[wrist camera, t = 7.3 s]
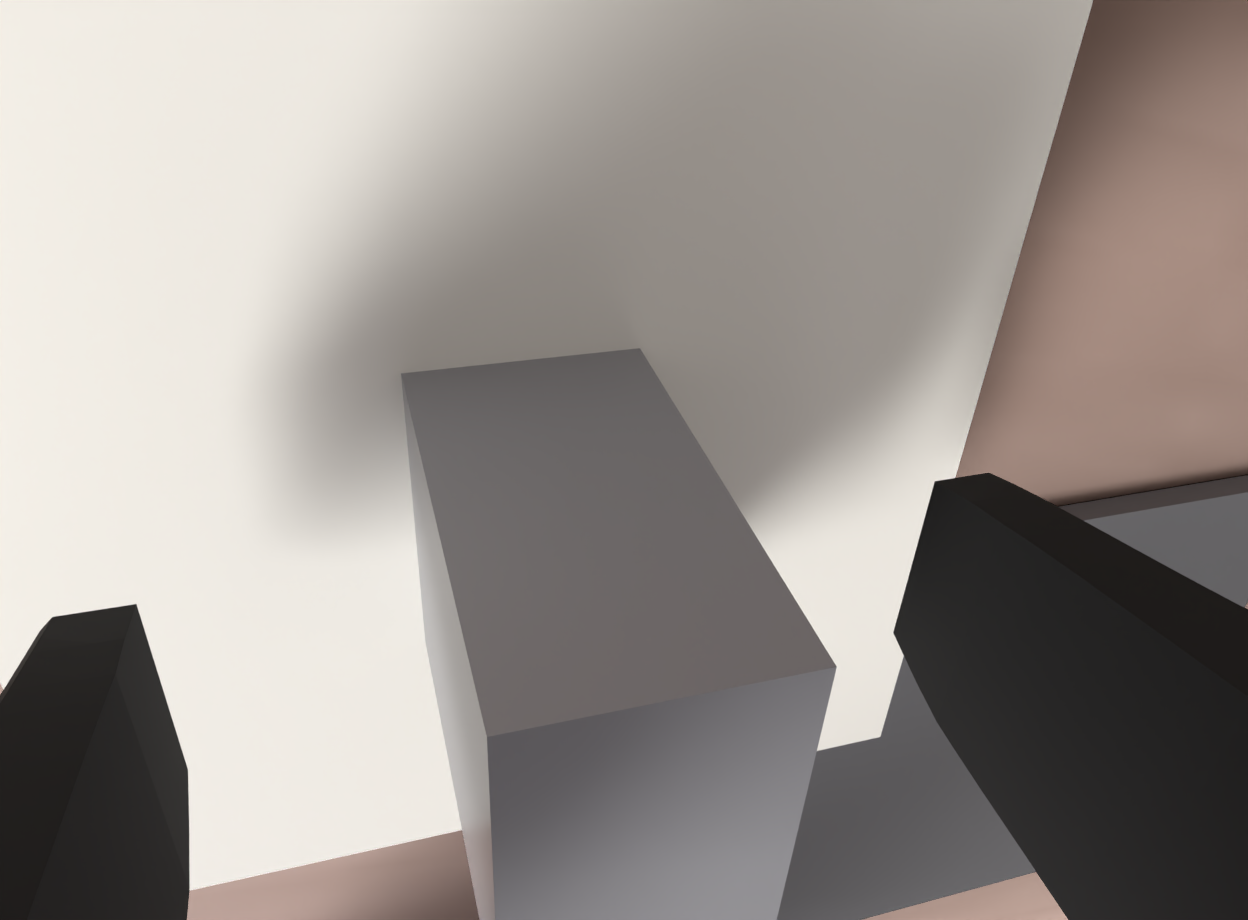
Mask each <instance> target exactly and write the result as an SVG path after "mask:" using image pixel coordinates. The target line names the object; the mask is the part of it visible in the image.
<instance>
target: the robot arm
mask: <svg viewBox="0 0 1248 920" xmlns="http://www.w3.org/2000/svg"><path fill="white" fill-rule="evenodd" d="M893 633H894V636H895V638H896V640H897V642H898V644H899V646H900V648H901V651H902V653H903V655H904V657H905V659H906V661H907V663H908V666H909V668H910V670H911V672H912V674H913V676H914V678H915V681H916V683H917V685H918V687H919V688H920V690H921V692H922V694H923V696H924V698H925V700H926V702H927V704H928V706H929V708H930V710H931V712H932V714H933V716H934V718H935V720H936V722H937V723H938V725H939V726H940V728H941V729H942V731H943V733H944V734H945V736H946V737H947V739H948V740H949V742H950V744H951V745H952V747H953V748H954V750H955V751H956V753H957V754H958V756H959V757H960V759H961V760H962V762H963V763H964V765H965V766H966V768H967V769H968V771H969V772H970V774H971V775H972V777H973V778H974V780H975V781H976V783H977V784H978V786H979V788H980V789H981V791H982V792H983V794H984V795H985V797H986V798H987V799H988V801H989V802H990V804H991V805H992V807H993V808H994V810H995V811H996V813H997V814H998V816H999V817H1000V819H1001V820H1002V822H1003V823H1004V825H1005V826H1006V828H1007V829H1008V831H1009V832H1010V834H1011V835H1012V837H1013V838H1014V840H1015V841H1016V842H1017V844H1018V845H1019V847H1020V848H1021V850H1022V851H1023V853H1024V854H1025V856H1026V857H1027V859H1028V860H1029V862H1030V863H1031V865H1032V866H1033V868H1034V869H1035V871H1036V872H1037V874H1038V875H1039V877H1040V878H1041V880H1042V881H1043V883H1044V884H1045V886H1046V887H1047V889H1048V890H1049V891H1050V893H1051V894H1052V896H1053V897H1054V899H1055V900H1056V902H1057V903H1058V905H1059V906H1060V908H1061V909H1062V911H1063V912H1064V914H1065V915H1066V917H1067V918H1068V920H1248V609H1246V608H1244V607H1242V606H1240V605H1238V604H1236V603H1234V602H1233V601H1231V600H1229V599H1227V598H1225V597H1223V596H1221V595H1219V594H1217V593H1216V592H1214V591H1212V590H1210V589H1208V588H1206V587H1204V586H1202V585H1200V584H1199V583H1197V582H1195V581H1193V580H1191V579H1189V578H1188V577H1186V576H1184V575H1182V574H1180V573H1178V572H1176V571H1175V570H1173V569H1171V568H1169V567H1167V566H1165V565H1163V564H1162V563H1160V562H1158V561H1156V560H1154V559H1153V558H1151V557H1149V556H1147V555H1145V554H1143V553H1142V552H1140V551H1138V550H1136V549H1134V548H1132V547H1131V546H1129V545H1127V544H1125V543H1123V542H1121V541H1120V540H1118V539H1116V538H1114V537H1112V536H1111V535H1109V534H1107V533H1105V532H1103V531H1101V530H1100V529H1098V528H1096V527H1094V526H1092V525H1091V524H1089V523H1087V522H1085V521H1083V520H1081V519H1079V518H1078V517H1076V516H1074V515H1072V514H1070V513H1068V512H1066V511H1065V510H1063V509H1061V508H1059V507H1057V506H1055V505H1053V504H1052V503H1050V502H1048V501H1046V500H1044V499H1042V498H1040V497H1038V496H1036V495H1034V494H1032V493H1030V492H1028V491H1026V490H1024V489H1022V488H1020V487H1018V486H1016V485H1014V484H1012V483H1010V482H1008V481H1006V480H1004V479H1002V478H999V477H997V476H995V475H993V474H991V473H985V474H978V475H972V476H965V477H959V478H952V479H946V480H939V481H935V482H934V486H933V489H932V493H931V497H930V500H929V504H928V508H927V511H926V515H925V519H924V522H923V526H922V530H921V533H920V537H919V541H918V544H917V548H916V551H915V555H914V559H913V562H912V566H911V570H910V573H909V577H908V581H907V584H906V588H905V592H904V595H903V599H902V602H901V606H900V610H899V613H898V617H897V621H896V624H895V628H894V632H893ZM189 889H190V880H189V793H188V768H187V765H186V762H185V759H184V755H183V752H182V749H181V746H180V743H179V739H178V736H177V733H176V730H175V727H174V723H173V720H172V717H171V714H170V710H169V707H168V704H167V701H166V698H165V694H164V691H163V688H162V685H161V682H160V678H159V675H158V672H157V669H156V665H155V662H154V659H153V656H152V653H151V649H150V646H149V643H148V640H147V636H146V633H145V630H144V627H143V624H142V620H141V617H140V614H139V611H138V608H137V604H133V605H127V606H120V607H114V608H107V609H101V610H94V611H88V612H81V613H75V614H68V615H62V616H55V617H52V618H51V619H50V620H49V621H48V622H47V623H46V624H45V626H44V627H43V628H42V629H41V630H40V631H39V633H38V635H37V636H36V638H35V640H34V641H33V643H32V645H31V646H30V648H29V649H28V651H27V653H26V654H25V656H24V658H23V659H22V661H21V662H20V664H19V666H18V667H17V669H16V671H15V672H14V674H13V675H12V677H11V679H10V680H9V682H8V684H7V685H6V687H5V688H4V690H3V692H2V693H1V695H0V920H187V910H188V899H189Z"/></svg>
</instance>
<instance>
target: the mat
mask: <svg viewBox="0 0 1248 920" xmlns="http://www.w3.org/2000/svg"><path fill="white" fill-rule="evenodd" d="M1059 508H1061V509H1063V510H1065V511H1066V512H1068V513H1070V514H1072V515H1074V516H1076V517H1078V518H1079V519H1081V520H1083V521H1085V522H1087V523H1089V524H1091V525H1092V526H1094V527H1096V528H1098V529H1100V530H1101V531H1103V532H1105V533H1107V534H1109V535H1111V536H1112V537H1114V538H1116V539H1118V540H1120V541H1121V542H1123V543H1125V544H1127V545H1129V546H1131V547H1132V548H1134V549H1136V550H1138V551H1140V552H1142V553H1143V554H1145V555H1147V556H1149V557H1151V558H1153V559H1154V560H1156V561H1158V562H1160V563H1162V564H1163V565H1165V566H1167V567H1169V568H1171V569H1173V570H1175V571H1176V572H1178V573H1180V574H1182V575H1184V576H1186V577H1188V578H1189V579H1191V580H1193V581H1195V582H1197V583H1199V584H1200V585H1202V586H1204V587H1206V588H1208V589H1210V590H1212V591H1214V592H1216V593H1217V594H1219V595H1221V596H1223V597H1225V598H1227V599H1229V600H1231V601H1233V602H1234V603H1236V604H1238V605H1240V606H1242V607H1244V608H1245V606H1246V604H1247V602H1248V475H1245V476H1239V477H1233V478H1227V479H1221V480H1215V481H1209V482H1203V483H1197V484H1191V485H1185V486H1179V487H1173V488H1167V489H1161V490H1155V491H1149V492H1143V493H1137V494H1131V495H1125V496H1119V497H1113V498H1108V499H1102V500H1096V501H1090V502H1084V503H1078V504H1072V505H1066V506H1060V507H1059ZM1034 872H1036V871H1035V869H1034V868H1033V866H1032V865H1031V863H1030V862H1029V860H1028V859H1027V857H1026V856H1025V854H1024V853H1023V851H1022V850H1021V848H1020V847H1019V845H1018V844H1017V842H1016V841H1015V840H1014V838H1013V837H1012V835H1011V834H1010V832H1009V831H1008V829H1007V828H1006V826H1005V825H1004V823H1003V822H1002V820H1001V819H1000V817H999V816H998V814H997V813H996V811H995V810H994V808H993V807H992V805H991V804H990V802H989V801H988V799H987V798H986V797H985V795H984V794H983V792H982V791H981V789H980V788H979V786H978V784H977V783H976V781H975V780H974V778H973V777H972V775H971V774H970V772H969V771H968V769H967V768H966V766H965V765H964V763H963V762H962V760H961V759H960V757H959V756H958V754H957V753H956V751H955V750H954V748H953V747H952V745H951V744H950V742H949V740H948V739H947V737H946V736H945V734H944V733H943V731H942V729H941V728H940V726H939V725H938V723H937V722H936V720H935V718H934V716H933V714H932V712H931V710H930V708H929V706H928V704H927V702H926V700H925V698H924V696H923V694H922V692H921V690H920V688H919V687H918V685H917V683H916V681H915V678H914V676H913V674H912V672H911V670H910V668H909V666H908V663H907V661H906V659H905V657H903V660H902V664H901V667H900V670H899V674H898V677H897V681H896V684H895V688H894V691H893V695H892V698H891V702H890V705H889V709H888V712H887V715H886V719H885V722H884V726H883V729H882V733H881V736H880V737H878V738H873V739H869V740H864V741H860V742H855V743H851V744H846V745H842V746H837V747H833V748H828V749H824V750H819V751H817V752H816V756H815V761H814V765H813V769H812V773H811V777H810V782H809V786H808V790H807V794H806V798H805V803H804V807H803V811H802V815H801V819H800V824H799V828H798V832H797V836H796V840H795V845H794V849H793V853H792V857H791V861H790V866H789V870H788V874H787V878H786V882H785V887H784V891H783V895H782V899H781V903H780V908H779V912H778V916H777V920H862V919H865V918H869V917H873V916H876V915H880V914H884V913H887V912H891V911H895V910H898V909H902V908H906V907H909V906H913V905H917V904H920V903H924V902H928V901H931V900H935V899H939V898H942V897H946V896H949V895H953V894H957V893H960V892H964V891H968V890H971V889H975V888H979V887H982V886H986V885H990V884H993V883H997V882H1001V881H1004V880H1008V879H1012V878H1015V877H1019V876H1023V875H1026V874H1030V873H1034Z"/></svg>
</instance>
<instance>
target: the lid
mask: <svg viewBox="0 0 1248 920" xmlns="http://www.w3.org/2000/svg"><path fill="white" fill-rule="evenodd" d="M1092 3H1093V0H0V683H1V685H2V688H3V690H4V688H5V687H6V685H7V684H8V682H9V680H10V679H11V677H12V675H13V674H14V672H15V671H16V669H17V667H18V666H19V664H20V662H21V661H22V659H23V658H24V656H25V654H26V653H27V651H28V649H29V648H30V646H31V645H32V643H33V641H34V640H35V638H36V636H37V635H38V633H39V631H40V630H41V629H42V628H43V627H44V626H45V624H46V623H47V622H48V621H49V620H50V619H51V618H52V617H55V616H62V615H68V614H75V613H81V612H88V611H94V610H101V609H107V608H114V607H120V606H127V605H133V604H137V608H138V611H139V614H140V617H141V620H142V624H143V627H144V630H145V633H146V636H147V640H148V643H149V646H150V649H151V653H152V656H153V659H154V662H155V665H156V669H157V672H158V675H159V678H160V682H161V685H162V688H163V691H164V694H165V698H166V701H167V704H168V707H169V710H170V714H171V717H172V720H173V723H174V727H175V730H176V733H177V736H178V739H179V743H180V746H181V749H182V752H183V755H184V759H185V762H186V765H187V768H188V793H189V880H190V889H189V891H190V890H195V889H199V888H204V887H208V886H213V885H217V884H222V883H226V882H230V881H235V880H239V879H244V878H248V877H253V876H257V875H262V874H266V873H271V872H275V871H280V870H284V869H289V868H293V867H298V866H302V865H307V864H311V863H316V862H320V861H325V860H329V859H334V858H338V857H343V856H347V855H352V854H356V853H361V852H365V851H370V850H374V849H379V848H383V847H388V846H392V845H397V844H401V843H406V842H410V841H415V840H419V839H424V838H428V837H433V836H437V835H442V834H446V833H451V832H455V831H460V830H462V832H463V838H464V843H465V848H466V853H467V858H468V863H469V868H470V874H471V879H472V884H473V889H474V894H475V899H476V904H477V910H478V915H479V920H777V916H778V912H779V908H780V903H781V899H782V895H783V891H784V887H785V882H786V878H787V874H788V870H789V866H790V861H791V857H792V853H793V849H794V845H795V840H796V836H797V832H798V828H799V824H800V819H801V815H802V811H803V807H804V803H805V798H806V794H807V790H808V786H809V782H810V777H811V773H812V769H813V765H814V761H815V756H816V752H817V751H819V750H824V749H828V748H833V747H837V746H842V745H846V744H851V743H855V742H860V741H864V740H869V739H873V738H878V737H880V736H881V733H882V729H883V726H884V722H885V719H886V715H887V712H888V709H889V705H890V702H891V698H892V695H893V691H894V688H895V684H896V681H897V677H898V674H899V670H900V667H901V664H902V660H903V657H904V655H903V653H902V651H901V648H900V646H899V644H898V642H897V640H896V638H895V636H894V633H893V632H894V628H895V624H896V621H897V617H898V613H899V610H900V606H901V602H902V599H903V595H904V592H905V588H906V584H907V581H908V577H909V573H910V570H911V566H912V562H913V559H914V555H915V551H916V548H917V544H918V541H919V537H920V533H921V530H922V526H923V522H924V519H925V515H926V511H927V508H928V504H929V500H930V497H931V493H932V489H933V486H934V482H935V481H939V480H946V479H952V478H955V477H956V473H957V470H958V466H959V463H960V460H961V456H962V453H963V449H964V446H965V442H966V439H967V435H968V432H969V428H970V425H971V422H972V418H973V415H974V411H975V408H976V404H977V401H978V397H979V394H980V390H981V387H982V383H983V380H984V377H985V373H986V370H987V366H988V363H989V359H990V356H991V352H992V349H993V345H994V342H995V339H996V335H997V332H998V328H999V325H1000V321H1001V318H1002V314H1003V311H1004V307H1005V304H1006V301H1007V297H1008V294H1009V290H1010V287H1011V283H1012V280H1013V276H1014V273H1015V269H1016V266H1017V262H1018V259H1019V256H1020V252H1021V249H1022V245H1023V242H1024V238H1025V235H1026V231H1027V228H1028V224H1029V221H1030V218H1031V214H1032V211H1033V207H1034V204H1035V200H1036V197H1037V193H1038V190H1039V186H1040V183H1041V179H1042V176H1043V173H1044V169H1045V166H1046V162H1047V159H1048V155H1049V152H1050V148H1051V145H1052V141H1053V138H1054V135H1055V131H1056V128H1057V124H1058V121H1059V117H1060V114H1061V110H1062V107H1063V103H1064V100H1065V97H1066V93H1067V90H1068V86H1069V83H1070V79H1071V76H1072V72H1073V69H1074V65H1075V62H1076V58H1077V55H1078V52H1079V48H1080V45H1081V41H1082V38H1083V34H1084V31H1085V27H1086V24H1087V20H1088V17H1089V14H1090V10H1091V7H1092Z"/></svg>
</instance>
